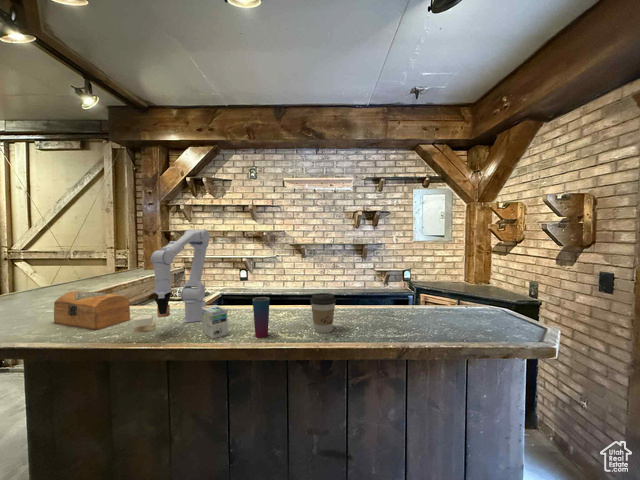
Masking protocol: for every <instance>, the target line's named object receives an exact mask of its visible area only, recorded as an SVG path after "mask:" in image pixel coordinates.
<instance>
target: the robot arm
mask: <svg viewBox="0 0 640 480" xmlns="http://www.w3.org/2000/svg"><path fill="white" fill-rule="evenodd" d="M210 238H211V236H210V233H209V231H208V230H207V229H206V228H205V229H187V230H185V231H184V232H183V235H182V236H180V238H179V239H178V240H170V241H169V242H168V244H166V245H165V246H162V247H161V249H160V250H157V249H156V250H155V251H154V252H152V254H151V257H150V261H151V263H152V268H153V269H154V290H151V293H152V294H156V295H155V296H154V297H153V300H154V302H156V305H157V306H158V309H159V313H160V314H166V311H167V305H169V301H170V300H171V296H172V292H173V291H172V279H171V278H172V275H171V274H172V273H171V269H172V268H171V267H172V266H171V265H172V264H173V263H174V260H175V258H176V256H177V255H179V254H180V253H181V252H182V251H183V247H185V246H186V245H188V244H189V246H190V247H192V248H193V249H194V253H193V259H192V264H191V268H190V274H189V278H188V279H189V280H188V281H187V282H185V283H184V284H183V286H182V289H181V291H180V295H179V296H180V298H181V300H182V301H183V303H184V318H183V319H184V320H183V324H187V323H194V322H201V321H202V307H207V304H206V303H207V302H206V300H204V299H205V297H206V285H205V284H204V283H203V282H202V275H203V270H204V265H205V260H206V255H207V249H208V247H209V242H210Z"/></svg>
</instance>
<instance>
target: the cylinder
mask: <svg viewBox="0 0 640 480" xmlns="http://www.w3.org/2000/svg"><path fill="white" fill-rule="evenodd" d="M170 307H171V306H170V304H168V305H167V311H166V314H160V313H159V309H158V305H157V308H156V310H157V313H156V314H157V317H158V318H166V317H169V316H170V314H171V313H170V312H171V310H170Z"/></svg>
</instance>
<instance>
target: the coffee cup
mask: <svg viewBox="0 0 640 480" xmlns="http://www.w3.org/2000/svg"><path fill="white" fill-rule="evenodd" d="M309 303H310V305H311V312H312V320H313V327H314V332H316V333H317V334H330V333H331V332H332V330H333V325H334V324H333V322H334V316H335V315H334V314H335V307H336V303H337V300H336V297H335V296H334V295H333V294H331V293H328V292H327V293H326V292H325V293H324V292H321V293H320V292H319V293H315V294H312V295H311V298H310V299H309Z"/></svg>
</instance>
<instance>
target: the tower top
mask: <svg viewBox="0 0 640 480" xmlns="http://www.w3.org/2000/svg"><path fill="white" fill-rule="evenodd" d="M153 320H154V314H153V313H152V314H146V315H145V314H144V315H138V316H136V317H135V319H134V326H135V327H140V326H147V325H152V322H153Z"/></svg>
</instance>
